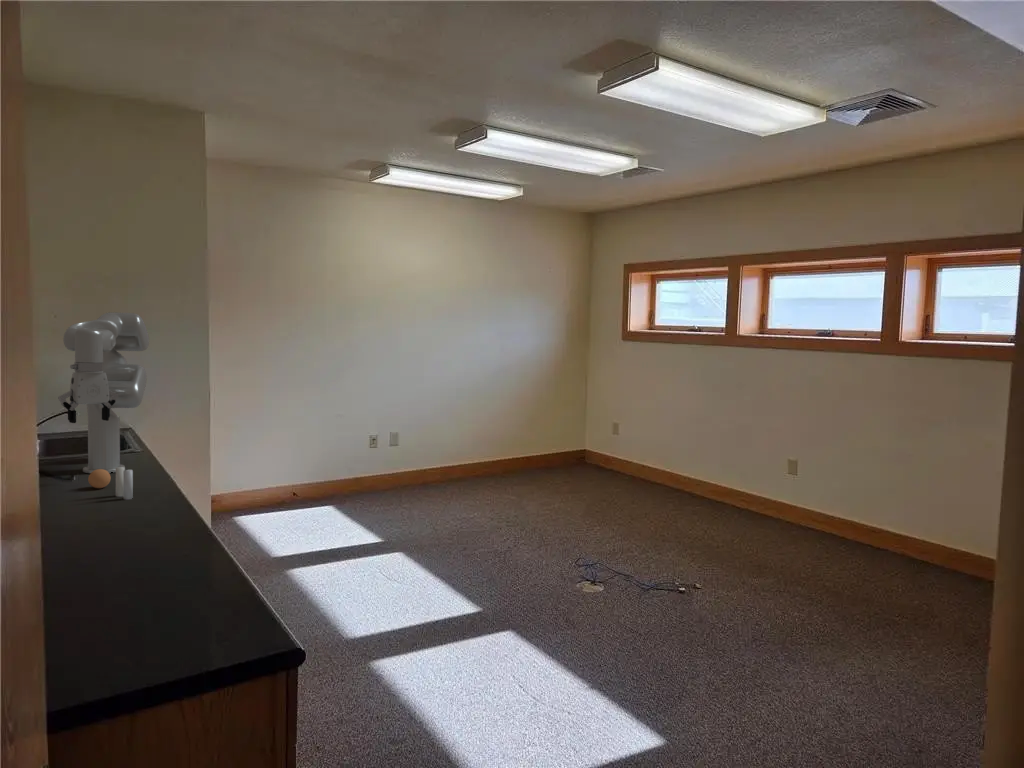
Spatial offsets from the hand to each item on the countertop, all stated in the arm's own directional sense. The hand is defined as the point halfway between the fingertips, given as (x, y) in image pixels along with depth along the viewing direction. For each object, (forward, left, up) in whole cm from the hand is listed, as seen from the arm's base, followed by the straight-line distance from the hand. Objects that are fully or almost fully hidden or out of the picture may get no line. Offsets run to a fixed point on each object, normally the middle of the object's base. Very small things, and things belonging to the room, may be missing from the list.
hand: (89, 421), depth 213 cm
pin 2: (+27, +7, -20) cm, 34 cm away
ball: (+8, +2, -17) cm, 19 cm away
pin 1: (+22, +5, -20) cm, 30 cm away
